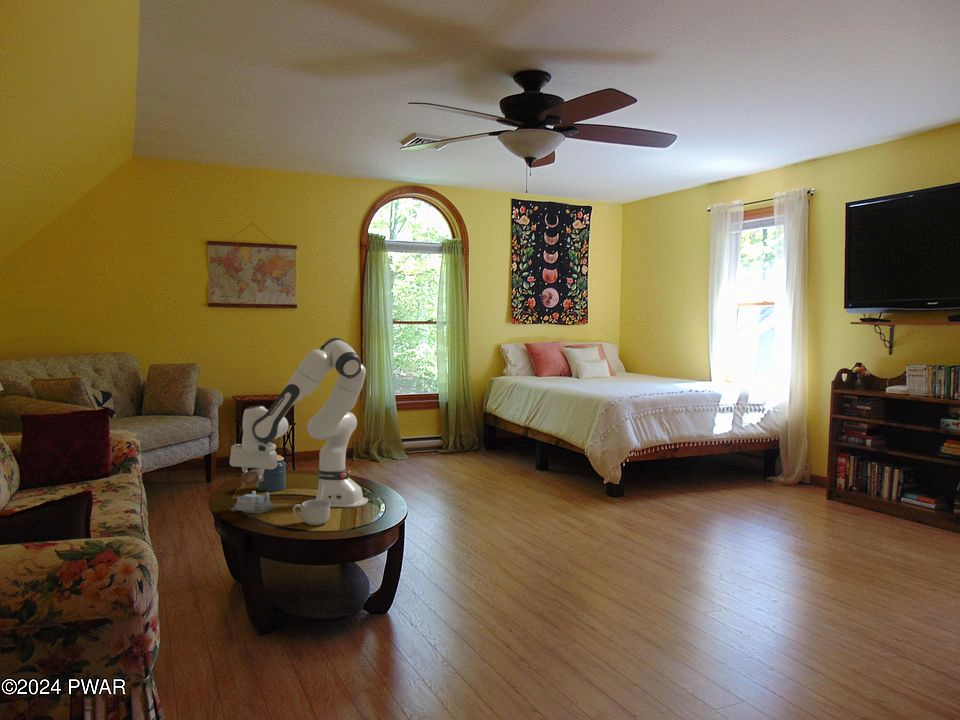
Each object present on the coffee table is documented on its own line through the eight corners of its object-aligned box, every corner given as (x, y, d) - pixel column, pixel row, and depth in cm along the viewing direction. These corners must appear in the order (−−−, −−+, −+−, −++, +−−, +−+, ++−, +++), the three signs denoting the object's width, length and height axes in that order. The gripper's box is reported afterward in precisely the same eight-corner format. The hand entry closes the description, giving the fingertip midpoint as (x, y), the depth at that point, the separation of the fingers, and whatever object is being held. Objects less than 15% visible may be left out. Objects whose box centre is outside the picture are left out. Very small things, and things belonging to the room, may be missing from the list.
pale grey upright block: (264, 506, 276) (264, 495, 276) (258, 508, 273) (258, 497, 272) (246, 504, 278) (246, 494, 278) (241, 507, 274) (241, 496, 274)
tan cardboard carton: (263, 480, 279) (263, 469, 279) (250, 485, 269) (250, 474, 269) (255, 479, 280) (255, 469, 280) (241, 484, 270) (241, 473, 270)
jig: (276, 506, 279) (276, 492, 279) (260, 514, 268) (260, 499, 268) (246, 504, 283) (246, 490, 283) (229, 511, 271) (229, 496, 271)
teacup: (332, 519, 261) (332, 499, 261) (327, 527, 251) (327, 506, 250) (296, 519, 261) (297, 499, 261) (289, 527, 250) (290, 506, 250)
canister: (252, 491, 306) (252, 453, 306) (262, 485, 319) (262, 448, 319) (280, 492, 306) (280, 454, 305) (289, 486, 319) (289, 449, 318)
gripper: (226, 444, 274) (226, 478, 274) (271, 447, 269) (270, 481, 269) (235, 442, 280) (235, 474, 280) (279, 445, 275) (279, 478, 276)
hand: (253, 478), depth 275 cm, fingers closed on tan cardboard carton, 4 cm apart
